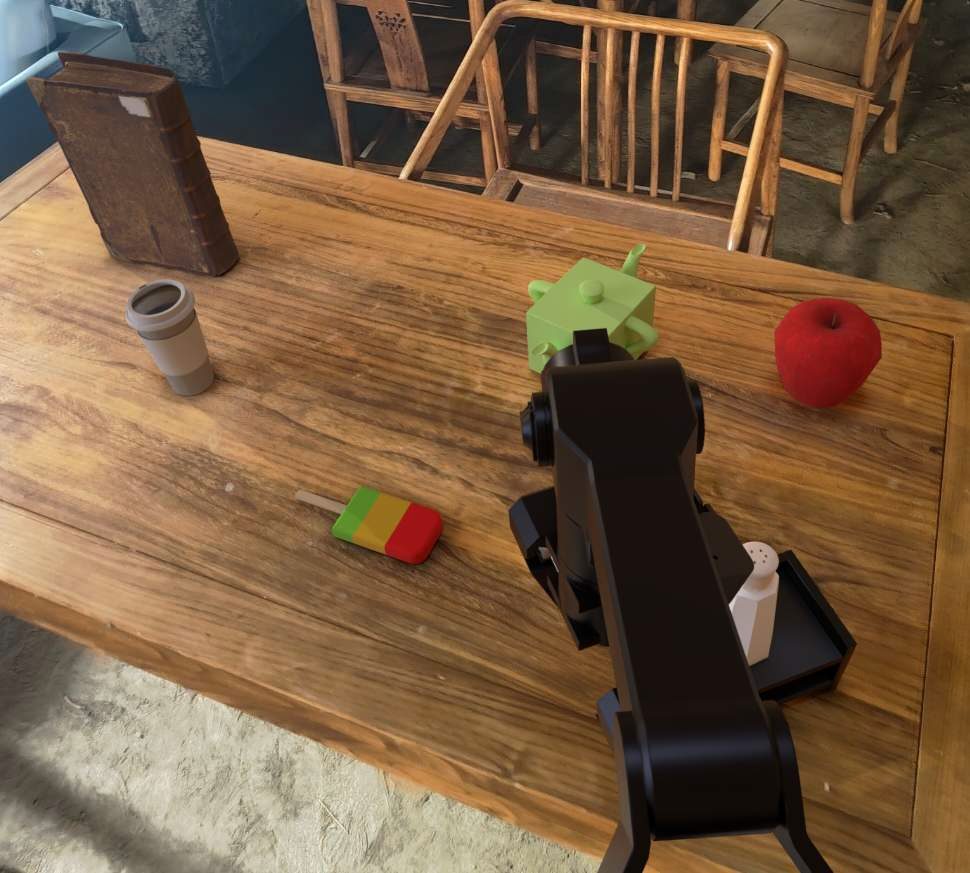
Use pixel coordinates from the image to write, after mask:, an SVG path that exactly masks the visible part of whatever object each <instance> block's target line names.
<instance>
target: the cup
mask: <svg viewBox="0 0 970 873" xmlns="http://www.w3.org/2000/svg"><path fill="white" fill-rule="evenodd" d="M195 305H196V296H195V294H194V292H192V290H191V289H190V288H189V287H187V286H186V285H184V284H183V283H181V282H180V281H178V280H176V279H171V278H162V279H161V278H160V279H155V280H152V281H149V282H146V283H144V284H142V285H140V286H139V287H137V288H135V290H134V291H133V292H132V293H131V294H130V295H129V297H128V298H127V302H126V310H125V320H126V323H127V324H128V326H130V327H131V328H132V329H134V330H136V333H137V335H138V337H139V339H140V340H141V342H142V344H143V345H144V346H145V348H146V350H147V351H148V353H149V355H150V357H151V358H152V360H153V361H154V363H155V364H156V366H157V368H158V369H159V370H160V372H161V373H163V375H164V376H165V378H166V380H167V382H168V384H169V385H170V387H171V388H172V390H173V391H174V393H175V394H178V395H180V396H183V397H190V396H191V397H192V396H197V395H199V394H202V393H203V392H205V391H206V390H208V389H209V388H210V386H211V385H212V384H213V383H214V381H215V373H214V370H213V366H212V364H211V361H210V357H209V350H208V347H207V343H206V339H205V336H204V334H203V331H202V327H201V324H200V320H199V317H198V313H197V311H196V309H195Z"/></svg>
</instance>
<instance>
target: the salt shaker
mask: <svg viewBox="0 0 970 873" xmlns="http://www.w3.org/2000/svg"><path fill="white" fill-rule="evenodd" d="M742 545H743V546H744V548H745V549H746V551H747V552H748V554H749V555H750V557H751V558H752V560H753V562H754V570H753V572H752V573H751V575H750V576H749V577H748V579H747V580H746V582H745V583H744V584H743V586H742V587H741V589H740V590H739V592H738V593H737V594H736V596H735V597H734V599H733V600H732V602H731V603H730V604H729V607H730V610H731V613H732V616H733V619H734V622H735V625H736V628H737V631H738V634H739V637H740V640H741V643H742V646H743V649H744V652H745V655H746V658H747V661H748V664H749V666H751V665H753V664H755V663H757V662H759V661H761V660H763V659H765V658H767V657H768V655H769V650H770V645H771V639H772V634H773V626H774V618H775V609H776V601H777V592H778V584H779V575H778V574H777V573H776V572H775V571H776V569H777V567H778V564H779V559H778V556H777V554H778V553H777V552H776V550H775V549H774V548H773V547H772V546H770V545H768V544H767V543H765V542H761V541H749V542H746V543H742Z"/></svg>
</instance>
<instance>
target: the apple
mask: <svg viewBox="0 0 970 873" xmlns="http://www.w3.org/2000/svg"><path fill="white" fill-rule="evenodd" d="M773 332H774V333H773V334H774V337H773V338H774V356H775V357H774V358H775V365H776V369H777V372H778V375H779V378H780V381H781V384H782V386H783V388H784V390H785V392H786V393H787V394H788V395H789V396H790V397H791V398H792V399H794V401H797V402H798V403H800V404H802V405H805V406H807V407H811V408H818V409H828V408H834V407H837V406H839V405H841V404H842V403H843V402H845V401H847V400H848V399H850V397H851V396H852V395H854V393H856V392H857V391H858V390H859V389H860V388H861V387H862V386H863V385H864V383H865V382H866V381H867V380H868V378H869V376H870V375H871V373H872V372H873V371H874V370H875V368H876V367H877V366H878V364H879V362H880V361H881V359H882V358H883V352H882V350H883V348H882V347H883V346H882V343H883V342H882V336H881V330H880V328H879V327H878V325H877V323H876V321H874V319H873V318H872V317H871V316H870V315H869V314H868V313H867V312H866V311H865V310H863V309H862V308H861V307H860V306H858V304H856V303H854V302H850V301H848V300H844V299H839V298H834V297H833V298H832V297H821V298H812V299H807V300H804V301H802V302H800V303H798V304H795V305H794V306H791V307H790V308H789V310H788V311H787V312H786V314H785V315H784V316H783V318H781V321H780V322H779V324H778V325H777V326H776V328H775V330H774V331H773Z"/></svg>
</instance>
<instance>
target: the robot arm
mask: <svg viewBox="0 0 970 873" xmlns="http://www.w3.org/2000/svg"><path fill="white" fill-rule="evenodd" d="M540 384H541V391H537V392H531V396H530V400H529V401H527V403H526V405H527V406H526V407H525V408H524V409H523V410H519V423H520V433H521V434H520V435H521V441H522V444H523V445H524V447H527V448H528V449H529V450H530V451H531V453H532V462H536V465H537V468H543V467H551V475H552V481H553V485H550V486H547V487H544V488H541V489H538V490H535V491H531V492H528V493H525V494H523V495H520V497H518V498H517V499H516V500H515V502H514V503H513V504H512V505H511V507H509V509H508V511H507V512H508V521H509V528H510V530H511V533H512V535H513V537H514V539H515V541H516V543H517V546H518V549H519V551H520V553H521V555H522V557H523V560H524V562H525V564H526V566H527V568H528V572H529V573H530V575H531V576H532V577H533V578H534V580H535V581H536V582H537V583H538V585H539V586H540V587H541V589H542V590H543V591H544V592H545V594H546V595H547V596H548V597H549V598H550V600H551V601H552V603H553V604H554V605H555V606H556V608H557V609H558V610H559V612H560V614H561V616H562V619H563V620H564V622H565V625H566V627H567V629H568V631H569V633H570V635H571V638H572V639H573V643H574V644H575V646H576V649H577V650H578V652H580V651H583V650H586V649H589V648H591V647H594V646H597V645H598V646H599V647H605V648H609V652H610V653H609V654H610V658H611V663H612V664H611V665H612V669H613V675H614V680H615V686H616V687H612V688H611V689H610V690H609V691H607V692H606V693H605V694H604V695H602V697H600V698H599V699H598V700H597V701H596V706H595V707H596V708H595V710H596V713H595V718H596V720H597V722H598V724H599V726H600V729H601V732H602V734H603V736H604V738H605V739H606V740H605V741H606V742H607V744H608V747H609V749H610V751H611V752H612V754H613V756H614V762H615V764H614V765H615V773H616V774H615V775H616V783H617V784H616V785H617V792H618V793H617V795H618V803H619V814H620V816H619V822H618V823H617V826H616V828H615V831H614V832H613V835H612V837H611V840H610V842H609V845H608V846H607V849H606V851H605V853H604V856H603V858H602V860H601V862H600V865H599V867H598V870H597V872H596V873H643V872H644V870H645V868H646V866H647V863H648V861H649V859H650V854H651V847H652V842H666V841H680V840H681V841H682V840H697V839H709V838H724V837H738V836H751V835H767V834H773V836H774V837H775V838H776V840H777V841H778V843H779V844H780V846H781V847H782V849H783V850H784V851H785V852H786V854H787V855H788V857H789V859H790V860H791V862H792V863H793V865H795V867H796V868H797V870H798V872H799V873H835V872H834V871H833V869H832V868H831V866H830V865H829V864H828V862H827V861H826V859H825V858H824V857H823V855H822V854H821V853H820V851H819V849H818V848H817V847H816V845H815V844H814V842H813V840H811V838H810V837H809V834H808V831H807V823H806V816H805V814H806V813H805V808H804V807H805V806H804V801H803V792H802V786H801V784H802V783H801V777H800V776H801V775H800V769H799V764H798V758H797V753H796V747H795V743H794V740H793V736H792V732H791V729H790V725H789V722H788V720H787V718H786V715H785V713H784V711H783V709H782V707H781V705H780V706H779V705H778V704H777V703H776V701H775V700H770V701H761V699H760V697H759V694H758V691H757V688H756V685H755V682H754V679H753V676H752V673H751V670H750V667H749V664H748V661H747V658H746V655H745V652H744V649H743V646H742V643H741V640H740V637H739V634H738V631H737V628H736V625H735V622H734V619H733V616H732V613H731V610H730V607H729V604H730V603H731V602H732V600H733V599H734V597H735V596H736V594H737V593H738V592H739V590H740V589H741V587H742V586H743V584H744V583H745V582H746V580H747V579H748V577H749V576H750V575H751V573H752V572H753V570H754V562H753V560H752V558H751V557H750V555H749V554H748V552H747V551H746V549H745V548H744V546H743V543H742V542H741V540H740V538H739V537H738V536H737V534H736V532H735V531H734V530H733V528H732V527H731V525H730V524H729V522H728V521H727V519H725V518H724V517H723V516H722V515H720V514H718V513H717V512H716V511H715V509H714V508H713V507H712V505H711V503H704V500H703V499H702V498H701V496H700V494H699V493H698V491H697V490H696V488H695V480H696V463H697V455H700V454H702V453H703V451H704V446H705V439H706V418H705V409H704V402H703V397H702V392H701V389H700V385H699V383H698V382H697V380H696V379H695V378H691V379H687V375H686V372H685V368H684V367H683V365H682V363H681V362H680V361H679V360H678V359H677V358H676V357H674V356H667V357H656V358H643V359H637V360H634V358H633V356H632V355H631V354H630V353H629V352H628V351H627V350H626V349H624V348H622V347H621V346H619V345H617V344H614V343H611V342H609V337H608V332H607V328H600V329H588V330H576V331H573V344H572V345H569V346H567V347H565V348H563V349H561V350H560V351H558V352H557V353H556V354H554V355H553V356H552V357H551V358H550V359H549V360H548V362H547V363H546V364H545V366H544V369H543V370H542V371H541V374H540Z"/></svg>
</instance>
